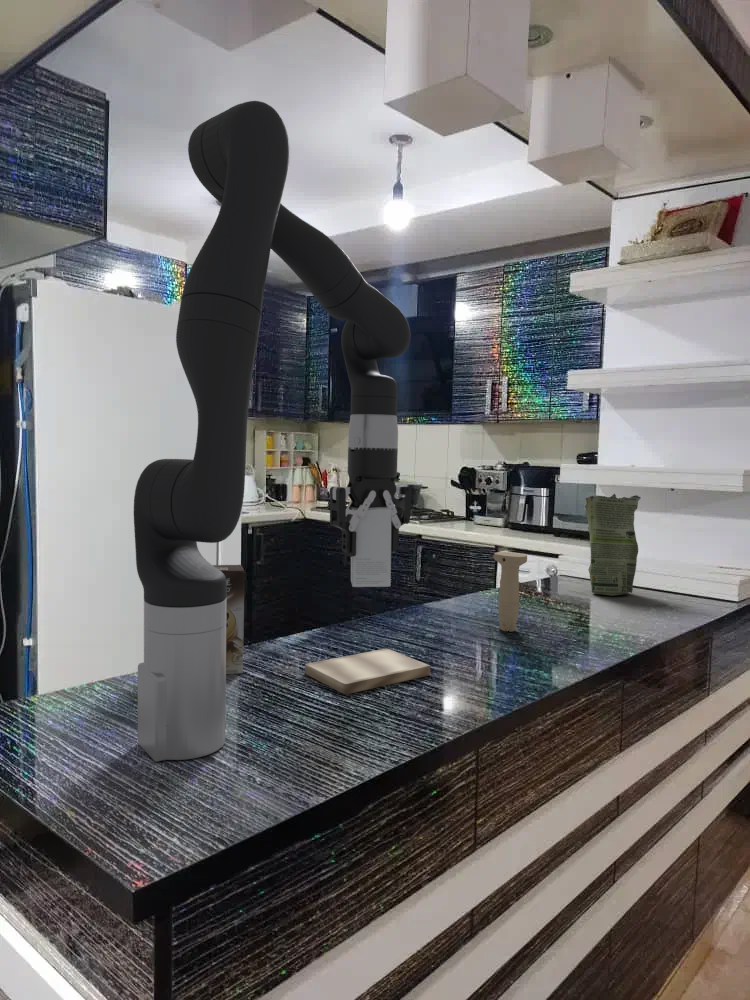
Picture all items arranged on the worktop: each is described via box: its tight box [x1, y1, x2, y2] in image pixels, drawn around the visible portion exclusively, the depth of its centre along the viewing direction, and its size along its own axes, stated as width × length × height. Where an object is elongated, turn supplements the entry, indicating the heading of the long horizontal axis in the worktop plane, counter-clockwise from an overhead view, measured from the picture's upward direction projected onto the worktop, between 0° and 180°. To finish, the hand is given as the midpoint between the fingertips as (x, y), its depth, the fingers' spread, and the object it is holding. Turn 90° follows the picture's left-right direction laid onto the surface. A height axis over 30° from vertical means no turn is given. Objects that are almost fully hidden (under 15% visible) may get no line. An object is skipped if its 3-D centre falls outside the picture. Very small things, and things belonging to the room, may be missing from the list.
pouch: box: [584, 493, 641, 597], centre depth 177 cm, size 11×12×25 cm
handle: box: [493, 551, 528, 633], centre depth 138 cm, size 5×6×15 cm
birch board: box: [304, 647, 431, 695], centre depth 109 cm, size 16×11×2 cm
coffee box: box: [212, 564, 246, 675], centre depth 110 cm, size 9×6×16 cm
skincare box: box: [350, 507, 392, 588], centre depth 108 cm, size 6×4×12 cm
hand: (370, 553), depth 108 cm, fingers closed on skincare box, 7 cm apart
